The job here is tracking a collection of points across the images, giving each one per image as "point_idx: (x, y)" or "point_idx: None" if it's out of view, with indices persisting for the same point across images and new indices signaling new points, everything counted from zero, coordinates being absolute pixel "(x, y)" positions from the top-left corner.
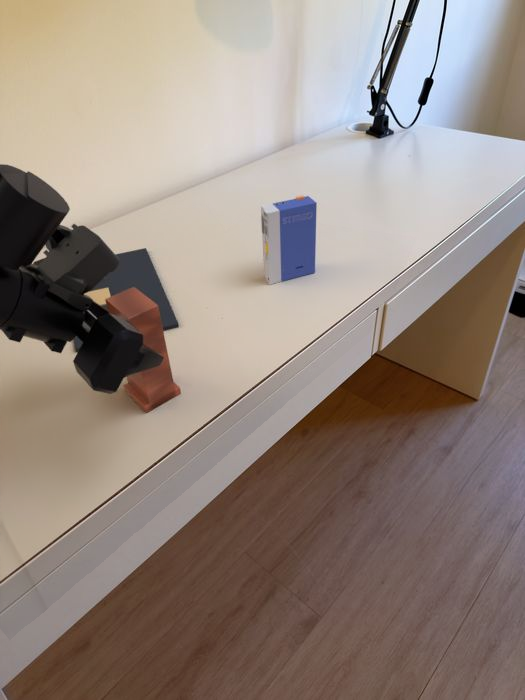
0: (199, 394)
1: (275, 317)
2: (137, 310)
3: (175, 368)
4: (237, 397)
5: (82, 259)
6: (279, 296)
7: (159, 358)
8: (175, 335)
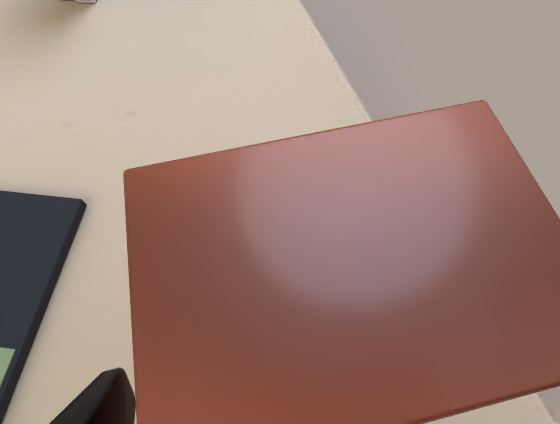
0: None
1: (203, 35)
2: (523, 242)
3: None
4: None
5: None
6: (145, 6)
7: None
8: (113, 224)
